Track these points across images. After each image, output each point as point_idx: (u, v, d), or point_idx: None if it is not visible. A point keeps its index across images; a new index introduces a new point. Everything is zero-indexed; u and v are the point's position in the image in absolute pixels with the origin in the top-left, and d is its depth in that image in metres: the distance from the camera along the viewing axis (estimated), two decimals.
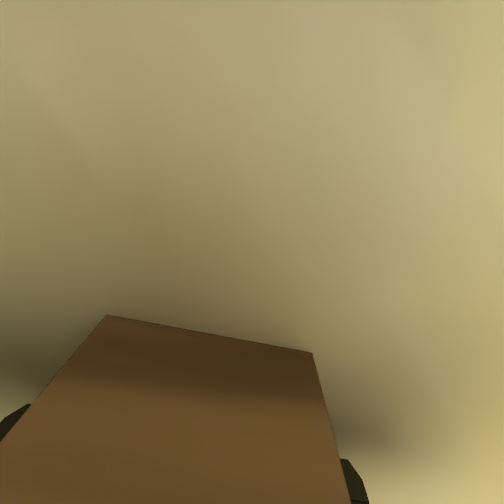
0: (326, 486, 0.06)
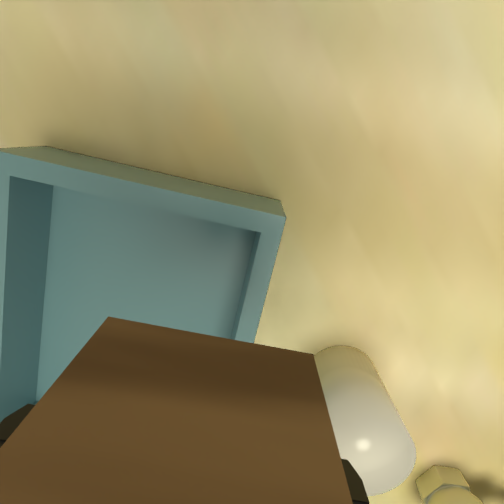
0: (328, 488, 0.06)
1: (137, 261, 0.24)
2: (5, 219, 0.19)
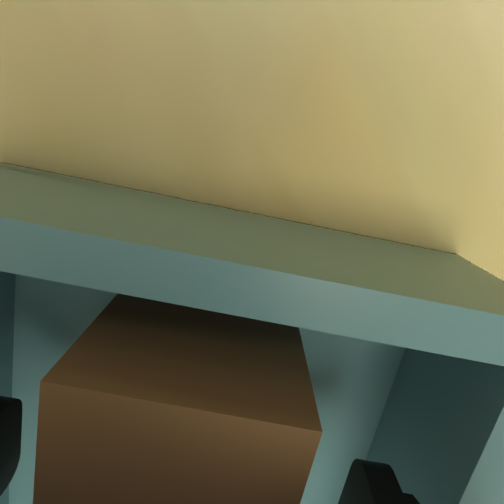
0: (297, 386, 0.08)
1: None
2: None
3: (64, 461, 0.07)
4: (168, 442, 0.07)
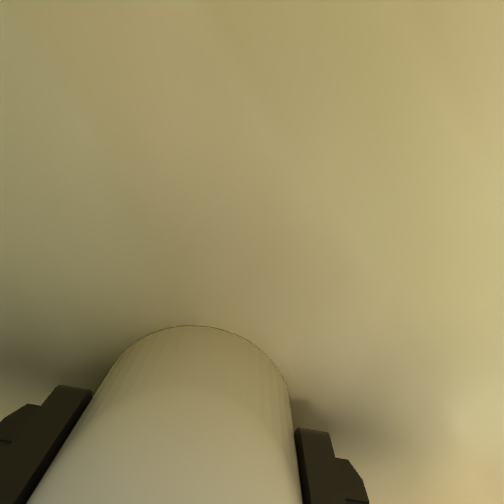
0: None
1: None
2: None
3: None
4: None
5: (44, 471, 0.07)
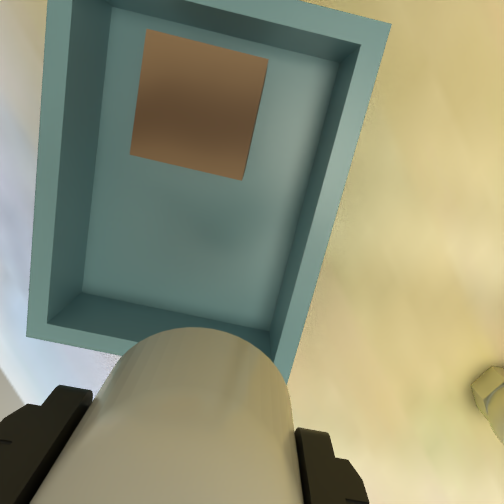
0: None
1: None
2: (67, 30, 0.16)
3: (153, 75, 0.16)
4: (200, 64, 0.16)
5: (44, 471, 0.07)
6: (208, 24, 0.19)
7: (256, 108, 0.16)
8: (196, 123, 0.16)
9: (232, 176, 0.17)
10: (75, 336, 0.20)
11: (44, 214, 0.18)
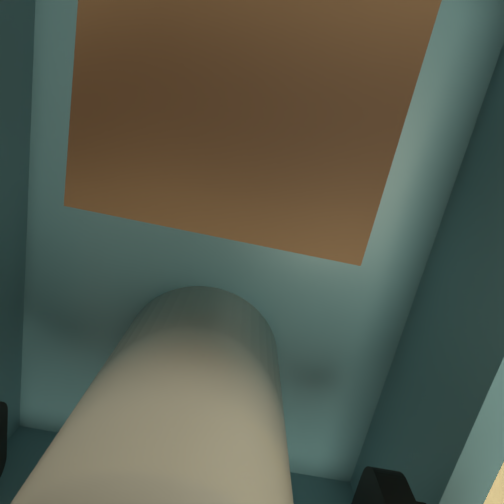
0: None
1: None
2: None
3: None
4: None
5: None
6: None
7: (415, 71, 0.06)
8: (244, 118, 0.06)
9: (336, 255, 0.06)
10: None
11: None
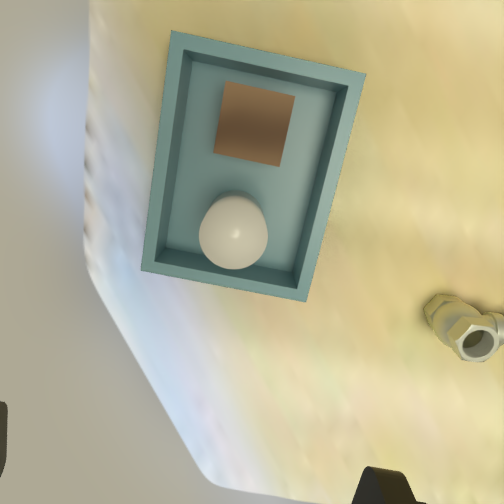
0: None
1: None
2: (177, 81, 0.28)
3: (228, 106, 0.27)
4: (256, 100, 0.27)
5: None
6: (254, 71, 0.30)
7: (288, 124, 0.28)
8: (253, 133, 0.28)
9: (274, 164, 0.29)
10: (172, 269, 0.32)
11: (157, 190, 0.30)
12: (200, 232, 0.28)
